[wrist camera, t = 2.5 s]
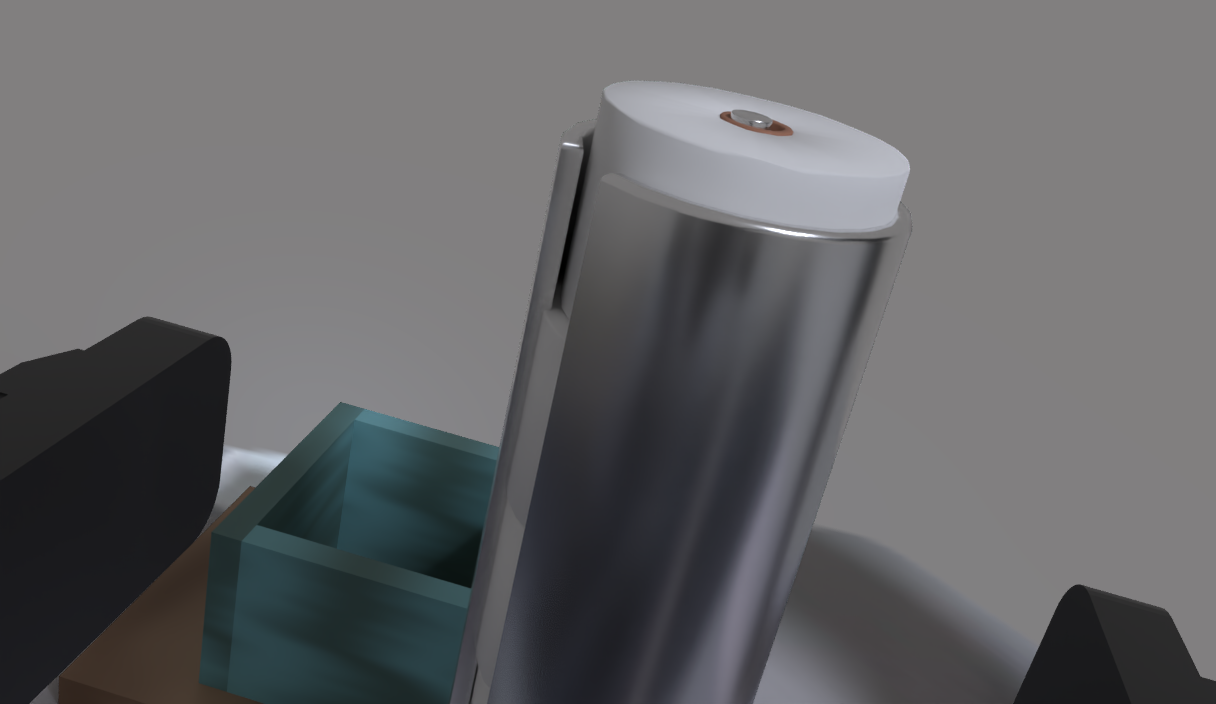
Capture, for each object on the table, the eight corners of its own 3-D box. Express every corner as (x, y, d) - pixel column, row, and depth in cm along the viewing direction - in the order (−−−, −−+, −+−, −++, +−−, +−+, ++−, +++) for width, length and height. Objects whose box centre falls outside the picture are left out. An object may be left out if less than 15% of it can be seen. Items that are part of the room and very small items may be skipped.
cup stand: (651, 629, 47) (692, 482, 44) (588, 873, 35) (639, 694, 33) (247, 509, 49) (262, 360, 46) (58, 704, 37) (62, 520, 34)
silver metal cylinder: (417, 909, 33) (592, 47, 23) (634, 960, 33) (904, 120, 23) (350, 1137, 27) (548, 108, 17) (616, 1199, 27) (968, 206, 17)
